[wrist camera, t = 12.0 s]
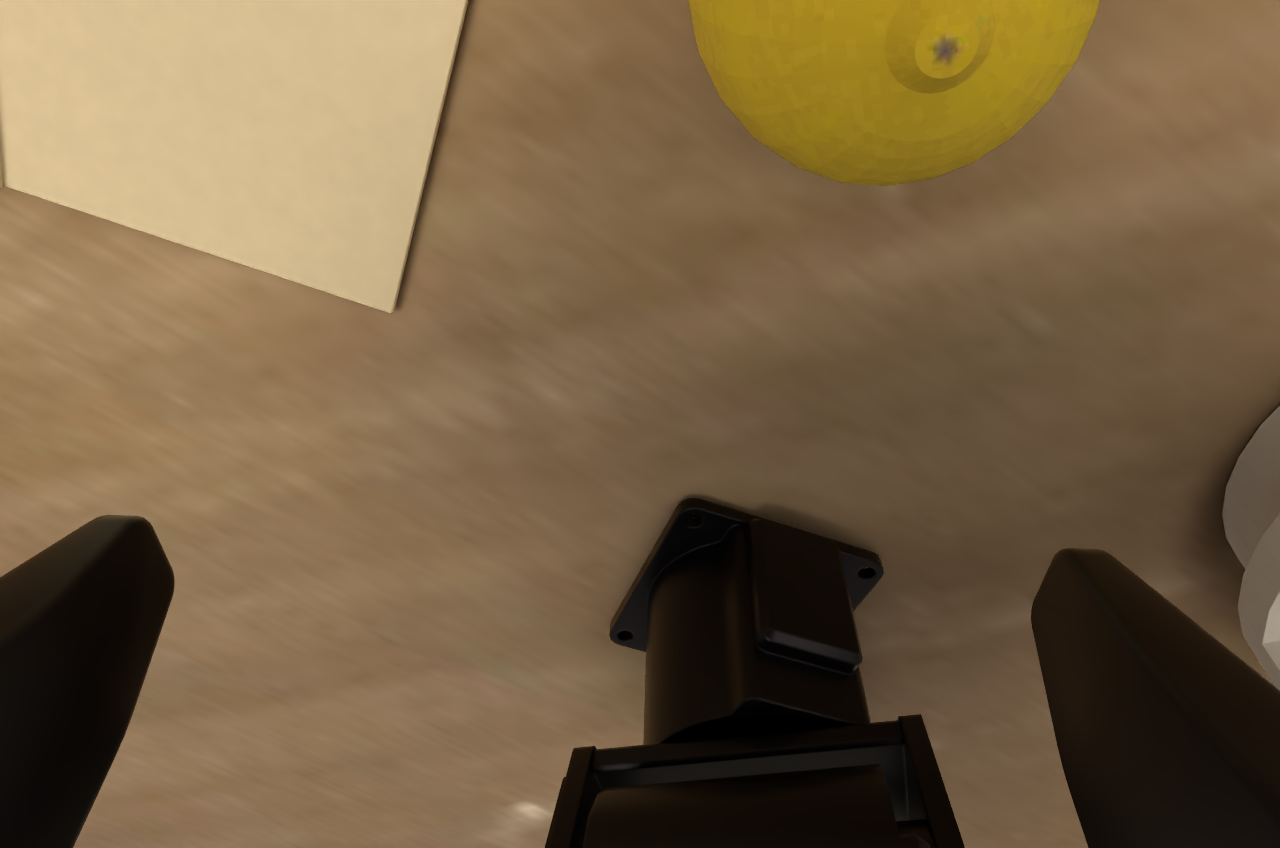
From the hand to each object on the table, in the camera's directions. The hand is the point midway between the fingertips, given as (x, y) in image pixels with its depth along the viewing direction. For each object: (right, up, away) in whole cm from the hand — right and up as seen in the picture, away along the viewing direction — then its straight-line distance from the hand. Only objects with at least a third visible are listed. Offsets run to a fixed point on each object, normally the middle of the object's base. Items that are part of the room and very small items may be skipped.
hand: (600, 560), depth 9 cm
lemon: (+4, +10, +7) cm, 13 cm away
